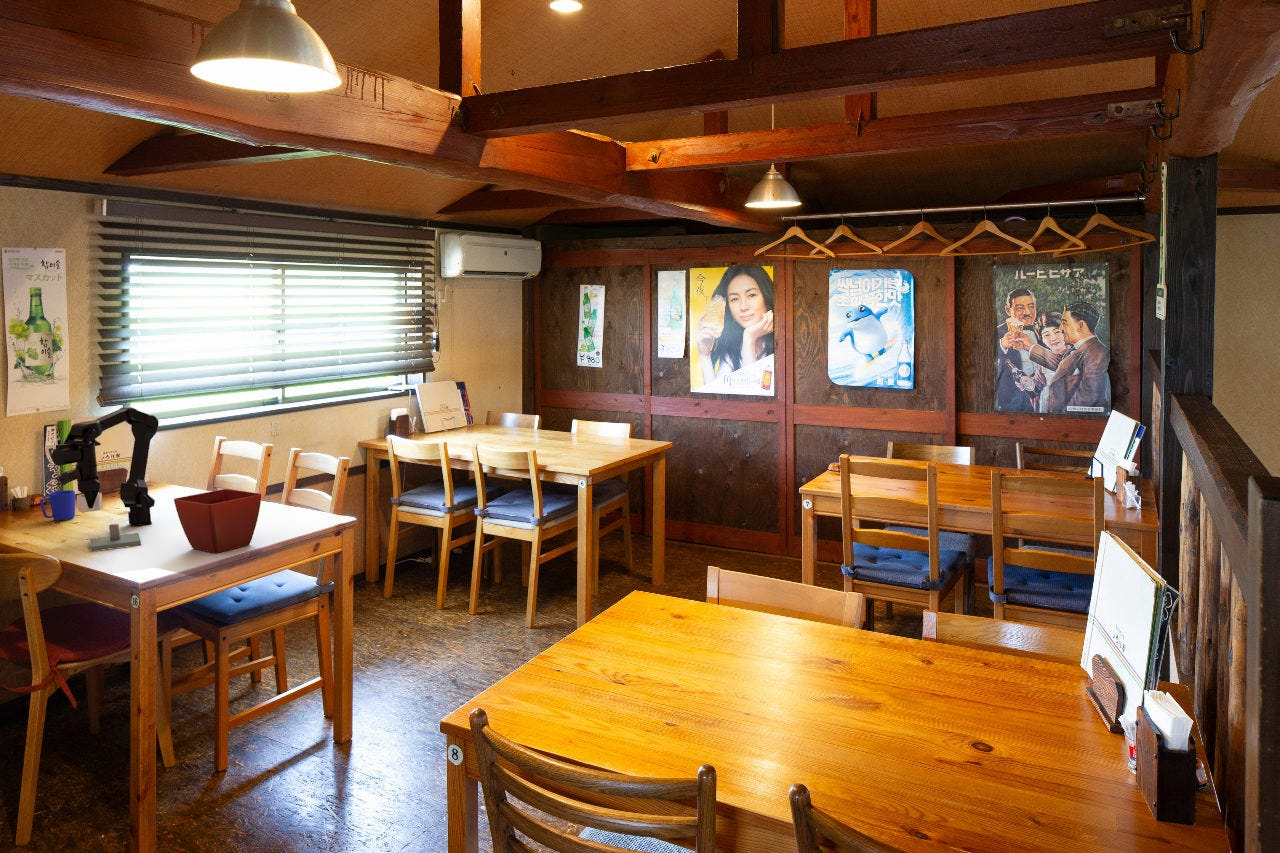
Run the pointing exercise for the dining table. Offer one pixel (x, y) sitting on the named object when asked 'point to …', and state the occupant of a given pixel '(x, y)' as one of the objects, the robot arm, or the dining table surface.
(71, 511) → the mug
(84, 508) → the tan faceted hollow ring
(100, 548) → the post stand
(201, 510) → the plant pot
